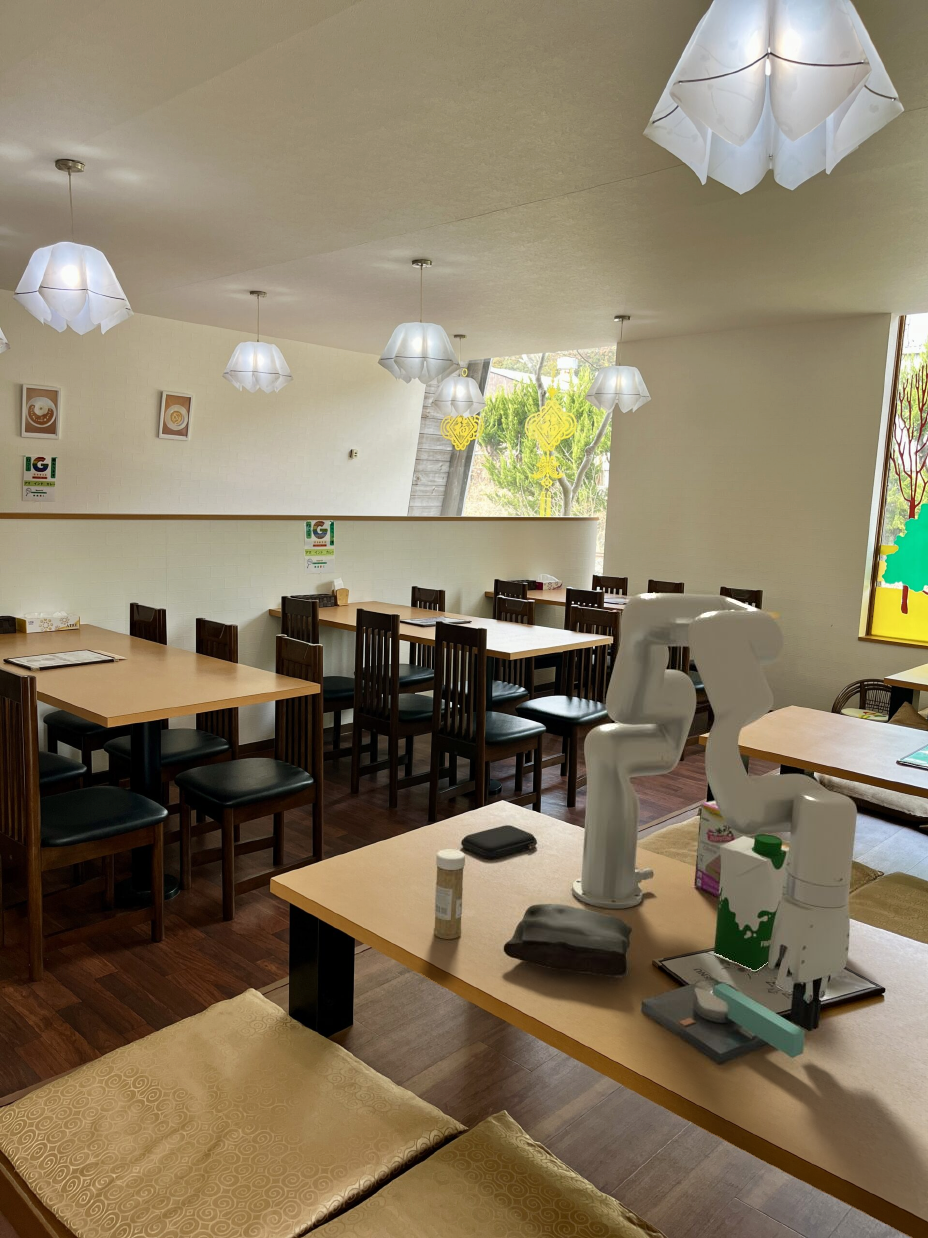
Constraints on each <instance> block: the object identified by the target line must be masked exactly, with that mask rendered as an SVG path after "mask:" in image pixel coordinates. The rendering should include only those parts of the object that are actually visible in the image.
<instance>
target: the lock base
mask: <svg viewBox="0 0 928 1238" xmlns="http://www.w3.org/2000/svg"><path fill="white" fill-rule="evenodd" d="M705 980H715V981H719V980H718V979H716V978H714V977H712V976H711V977H708V978H706V979H703V980H699V981H697V982H694V983H690V984H687V985H685V986H681V987H679V988H675V989H673V990H670V991H666V992H663V993H661V994H658V995H655V996H652V997H648V998H645V999H643V1000H642V1001H641V1009H640V1012H642V1013H643V1014H645V1015H646V1016H648V1017H649V1018H651V1019H652V1020H654V1021H655V1022H657V1023H658V1024H660V1025H661V1026H662V1027H664V1028H665V1029H667V1030H668V1031H670V1032H671V1033H672V1034H674V1035H675V1036H677V1037H678V1038H680V1039H681V1040H683V1041H684V1042H685V1043H687V1044H688V1045H689V1046H691V1047H693V1048H694V1049H696V1050H697V1051H699V1052H700V1053H701V1054H702V1055H705V1056H706V1057H707V1058H709V1059H710V1060H712V1061H713V1062H714V1063H716V1064H718V1065H719V1066H720V1065H723V1064H726V1063H729V1062H730V1061H733V1060H735V1059H737V1058H740V1057H742V1056H744V1055H746V1054H749V1053H752V1052H754V1051H757V1050H759V1049H761V1048H764V1047H766V1046H769V1045H770V1044H769V1043H768V1042H766V1041H764V1040H763V1039H761V1038H760V1037H758V1036H756V1035H755V1034H753V1033H752V1032H750V1031H748V1030H747V1029H745V1028H744V1027H742V1026H740V1025H739V1024H737V1023H736V1022H734V1021H733V1022H728V1023H721V1022H714V1021H711V1020H708V1019H705V1018H703V1017H702V1016H700V1015H699V1014H697V1013H696V1011H695V1010H694V1007H693V1006H694V993H695V985H696V984H697V983H699V982H701V981H705Z"/></svg>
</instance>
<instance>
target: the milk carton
mask: <svg viewBox="0 0 928 1238" xmlns="http://www.w3.org/2000/svg"><path fill="white" fill-rule="evenodd" d="M782 846H783V840H782V839H781V838H780V837H778V836H776V835H772V834H769V833H766V834H758V835H756V836H755V839H751V838H748V837H745V836H743V837H740V838H738V839H736V840H733V841H731V842H729V843H726V844H724V845H722V846H720V853H721V875H720V887H719V897H718V901H717V911H716V922H715V923H716V925H715V934H714V935H715V937H714V950H713V954H714V953H716V954H719V955H722V956H723V957H725V958H728V959H729V960H732V961H734V962H737V963H739V964H741V965H743V966H746V967H748V968H751V969H752V970H757V969H759V968H760V967H762V966H763V965H764V964H766V963H767V962H768V961H769V950H770V943H771V937H772V931H773V925H774V921H775V916H776V912H777V909H778V906H779V903H780V900H781V897H782V890H783V880H784V874H785V869H786V864H787V859H788V854H789V850H788V849H785V848H782Z"/></svg>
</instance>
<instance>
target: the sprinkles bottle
mask: <svg viewBox="0 0 928 1238" xmlns="http://www.w3.org/2000/svg"><path fill="white" fill-rule="evenodd" d="M435 861H436V881H435V897H434V898H435V899H434V900H435V902H434V928H433V933H434V936H435V937H438V938H440V939H442V940H443V939H444V940H453V939H456V938H459V937H460V936H461V935H462V913H463V891H464V889H463V887H464V886H463V881H464V869H465V865H466V855H465V853H464V852H463V851H461V850H458V849H453V848H452V849H450V848H448V849H447V848H446V849H441V850H440V851H438V852H437V853H436V859H435Z"/></svg>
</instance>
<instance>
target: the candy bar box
mask: <svg viewBox="0 0 928 1238" xmlns="http://www.w3.org/2000/svg"><path fill="white" fill-rule="evenodd" d="M699 810H700V812H699V824H698V825H699V826H698V836H697V849H696V862H695V873H694V887H695V888H698V889H700V890H702V891H705V892H706V893H708V894H710V895H713V896H714V897H717V898H719V887H720V875H721V853H720V846H722V845H724V844H726V843H729V842H731V841H733V840H736V839H738V838H740V837H743V836H745V837H748V838H751V839H755V836H756V835H758V834H755V835H745V834H741V833H738V832H736V831H734V830H733V829H732V828H730V827H729V825H728V824H727V823H726V822H725V820H724V819H723V817H722V815H721V813H720V811H719V809H718V807H717V804H716V802H715V799H714V800H709V801H704V802H702V803H700V809H699Z"/></svg>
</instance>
